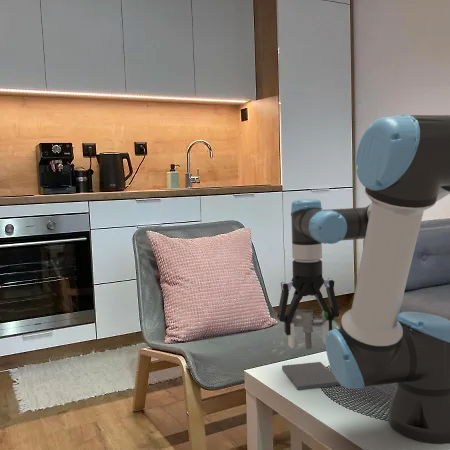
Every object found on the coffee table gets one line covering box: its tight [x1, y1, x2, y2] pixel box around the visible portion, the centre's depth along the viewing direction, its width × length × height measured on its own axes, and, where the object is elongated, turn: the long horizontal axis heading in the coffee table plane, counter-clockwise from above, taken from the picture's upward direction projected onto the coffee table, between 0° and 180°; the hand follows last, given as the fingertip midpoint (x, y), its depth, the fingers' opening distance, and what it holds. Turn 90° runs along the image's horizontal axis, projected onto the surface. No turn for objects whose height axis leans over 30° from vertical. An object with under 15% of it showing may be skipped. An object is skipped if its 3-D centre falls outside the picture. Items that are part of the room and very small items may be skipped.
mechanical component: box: [291, 309, 328, 350], centre depth 132 cm, size 3×10×10 cm, turn 78°
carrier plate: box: [281, 361, 341, 391], centre depth 133 cm, size 14×11×1 cm
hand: (308, 344), depth 132 cm, fingers closed on mechanical component, 9 cm apart
